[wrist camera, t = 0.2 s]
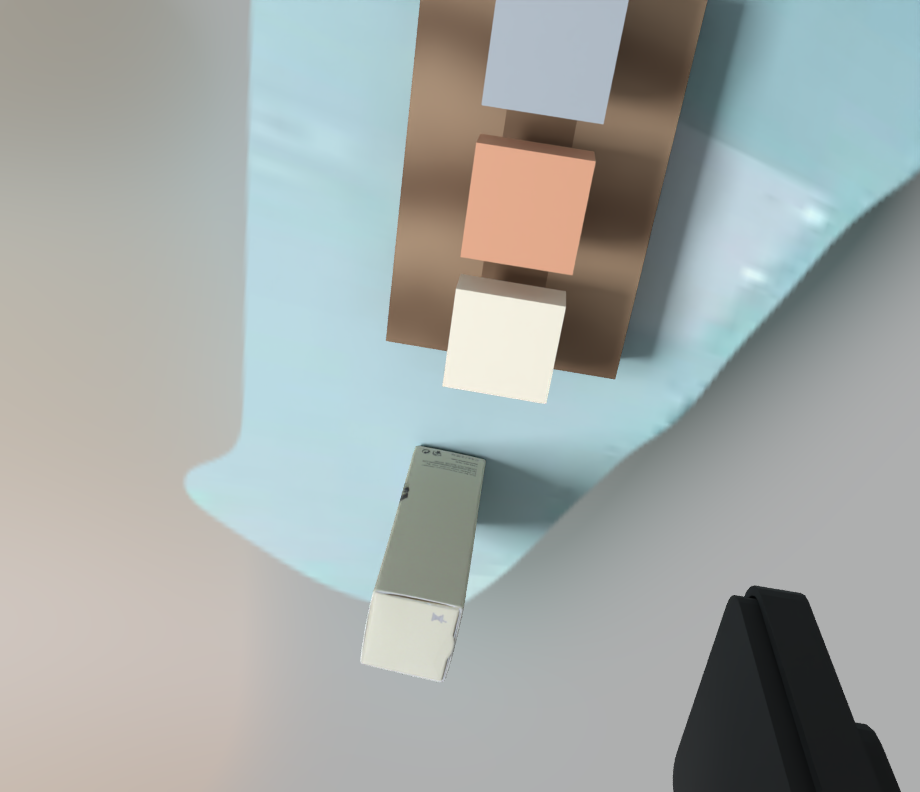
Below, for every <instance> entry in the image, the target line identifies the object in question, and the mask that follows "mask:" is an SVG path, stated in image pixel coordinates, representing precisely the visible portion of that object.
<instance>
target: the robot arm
mask: <svg viewBox="0 0 920 792" xmlns="http://www.w3.org/2000/svg"><path fill="white" fill-rule="evenodd" d="M673 790H674V792H901V791H900V788H899V786H898V783H897V781H896V779H895V776H894V774H893V771H892V769H891V766H890V764H889V762H888V759H887V757H886V754H885V752H884V749H883V747H882V744H881V743H880V741H879V739H878V737H877V735H876V733H875V732H874V731H873V730H872V729H871V728H870V727H869V726H868V725H866V724H861V723H855V721H854V719H853V716H852V713H851V711H850V708H849V706H848V703H847V700H846V698H845V695H844V693H843V690H842V687H841V685H840V682H839V680H838V677H837V674H836V672H835V669H834V666H833V664H832V661H831V659H830V656H829V654H828V651H827V648H826V646H825V643H824V640H823V638H822V636H821V633H820V630H819V627H818V625H817V623H816V620H815V617H814V615H813V612H812V609H811V607H810V604H809V602H808V600H807V598H806V596H805V595H803V594H801V593H797V592H790V591H785V590H779V589H772V588H766V587H760V586H751V587H750V588H749V589H748V590H747V592H746V594H745V596H744V597H743V596H736V595H733V596H731V597H730V599H729V601H728V603H727V605H726V609H725V611H724V614H723V617H722V620H721V623H720V626H719V629H718V632H717V635H716V638H715V641H714V644H713V647H712V650H711V653H710V656H709V659H708V662H707V665H706V668H705V671H704V674H703V677H702V680H701V683H700V686H699V689H698V691H697V694H696V697H695V700H694V704H693V707H692V709H691V712H690V715H689V719H688V721H687V724H686V727H685V730H684V733H683V736H682V739H681V742H680V745H679V748H678V751H677V754H676V758H675V763H674V769H673Z"/></svg>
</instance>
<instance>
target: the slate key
mask: <svg viewBox="0 0 920 792" xmlns="http://www.w3.org/2000/svg"><path fill="white" fill-rule="evenodd" d="M628 1H629V0H496V3H495V11H494V18H493V25H492V32H491V40H490V47H489V54H488V61H487V68H486V76H485V83H484V90H483V97H482V105H483V106H490V107H496V108H502V109H509V110H515V111H522V112H528V113H534V114H541V115H547V116H553V117H560V118H566V119H572V120H579V121H585V122H591V123H598V124H604V119H605V114H606V109H607V104H608V99H609V94H610V89H611V85H612V80H613V75H614V70H615V65H616V60H617V55H618V50H619V45H620V41H621V36H622V31H623V26H624V21H625V16H626V11H627V6H628Z"/></svg>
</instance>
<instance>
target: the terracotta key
mask: <svg viewBox="0 0 920 792" xmlns="http://www.w3.org/2000/svg"><path fill="white" fill-rule="evenodd" d="M595 163H596V160H595V152H594V151H588V150H581V149H575V148H569V147H563V146H556V145H550V144H544V143H537V142H531V141H525V140H518V139H512V138H506V137H499V136H493V135H487V134H480V136H479V138H478V140H477V142H476V148H475V155H474V162H473V170H472V177H471V184H470V191H469V198H468V206H467V213H466V220H465V227H464V235H463V242H462V249H461V256H460V257H463V258H469V259H475V260H482V261H488V262H494V263H500V264H506V265H512V266H518V267H524V268H530V269H536V270H543V271H549V272H555V273H561V274H567V275H573V270H574V265H575V260H576V256H577V251H578V246H579V241H580V236H581V231H582V226H583V221H584V216H585V212H586V207H587V202H588V197H589V192H590V187H591V182H592V177H593V172H594V168H595Z"/></svg>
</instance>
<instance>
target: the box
mask: <svg viewBox="0 0 920 792" xmlns="http://www.w3.org/2000/svg"><path fill="white" fill-rule="evenodd" d="M485 464H486V461H485V460H484V459H480V458H476V457H472V456H467V455H463V454H458V453H454V452H448V451H444V450H439V449H434V448H429V447H423V446H416V447H415V450H414V453H413V456H412V460H411V463H410V467H409V470H408V474H407V478H406V481H405V484H404V488H403V492H402V495H401V499H400V502H399V506H398V509H397V513H396V516H395V520H394V523H393V527H392V530H391V534H390V537H389V541H388V544H387V548H386V551H385V555H384V558H383V561H382V565H381V568H380V572H379V575H378V578H377V582H376V585H375V588H374V591H373V594H372V598H371V602H370V607H369V611H368V616H367V622H366V626H365V632H364V639H363V646H362V653H361V663H362V664H363V665H368V666H372V667H377V668H381V669H386V670H389V671H394V672H398V673H402V674H406V675H410V676H415V677H419V678H424V679H428V680H433V681H437V682H443V681H444V680H445V678H446V675H447V673H448V669H449V665H450V662H451V659H452V655H453V652H454V648H455V644H456V640H457V635H458V631H459V627H460V623H461V618H462V613H463V609H464V603H465V597H466V590H467V584H468V577H469V571H470V564H471V558H472V551H473V544H474V537H475V530H476V523H477V516H478V509H479V502H480V496H481V489H482V482H483V476H484V470H485Z"/></svg>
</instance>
